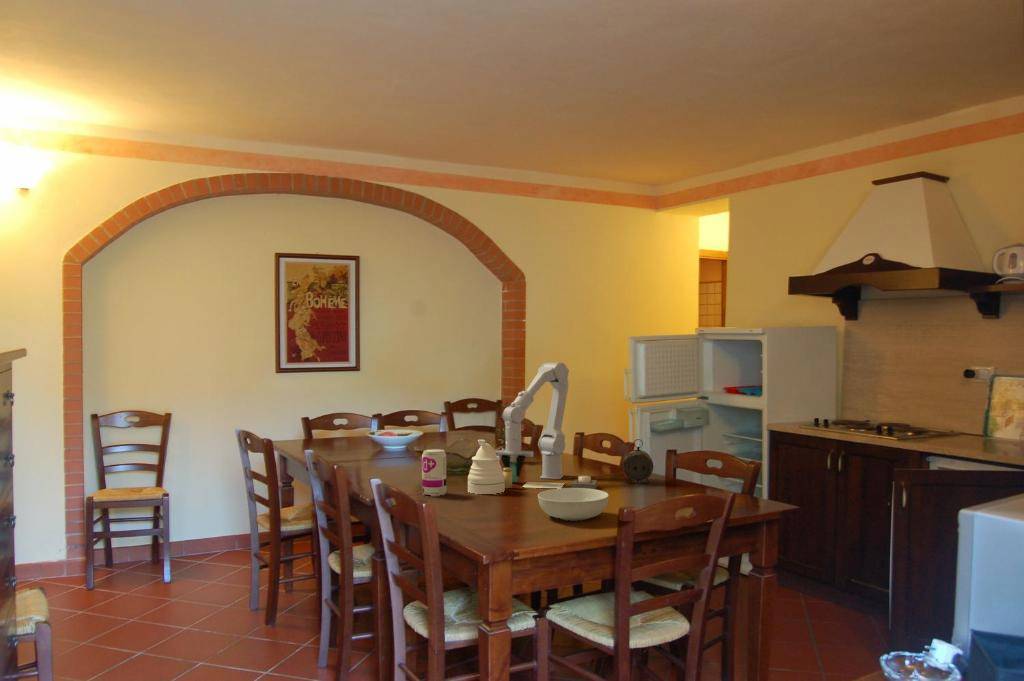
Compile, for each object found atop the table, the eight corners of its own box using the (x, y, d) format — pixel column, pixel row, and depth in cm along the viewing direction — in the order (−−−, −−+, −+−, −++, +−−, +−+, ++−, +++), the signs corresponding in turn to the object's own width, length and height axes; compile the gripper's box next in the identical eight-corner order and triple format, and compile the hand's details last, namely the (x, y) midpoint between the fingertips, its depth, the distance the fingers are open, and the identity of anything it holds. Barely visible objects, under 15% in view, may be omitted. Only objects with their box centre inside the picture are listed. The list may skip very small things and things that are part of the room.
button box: (574, 486, 269) (574, 479, 269) (597, 486, 267) (596, 480, 267) (571, 490, 261) (571, 483, 261) (594, 491, 259) (594, 484, 259)
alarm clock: (652, 482, 276) (652, 438, 276) (653, 484, 271) (653, 440, 271) (622, 481, 277) (622, 438, 277) (623, 484, 272) (623, 439, 272)
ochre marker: (504, 487, 268) (503, 467, 268) (513, 487, 267) (512, 467, 267) (501, 488, 265) (501, 468, 265) (511, 489, 264) (510, 469, 264)
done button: (579, 483, 267) (579, 475, 267) (591, 484, 266) (591, 475, 266) (577, 486, 263) (577, 477, 263) (589, 486, 262) (589, 478, 262)
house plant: (485, 464, 319) (485, 425, 319) (496, 459, 332) (496, 422, 333) (517, 465, 315) (517, 427, 315) (527, 460, 328) (527, 423, 328)
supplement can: (434, 497, 250) (434, 452, 250) (417, 494, 255) (417, 450, 255) (451, 493, 256) (451, 450, 256) (433, 491, 261) (433, 448, 261)
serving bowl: (564, 506, 236) (564, 484, 236) (622, 516, 222) (622, 493, 222) (523, 518, 219) (523, 495, 219) (582, 529, 206) (582, 504, 206)
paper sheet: (527, 482, 276) (527, 481, 276) (564, 484, 273) (564, 483, 273) (521, 487, 266) (521, 487, 266) (560, 489, 263) (560, 488, 263)
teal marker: (510, 480, 278) (510, 461, 278) (519, 480, 277) (518, 461, 277) (508, 481, 275) (508, 462, 275) (517, 482, 274) (516, 463, 274)
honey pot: (482, 496, 252) (482, 443, 252) (460, 490, 262) (460, 439, 262) (512, 491, 260) (512, 439, 260) (489, 486, 270) (489, 436, 270)
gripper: (491, 440, 274) (491, 477, 274) (530, 441, 271) (530, 478, 271) (496, 437, 281) (496, 473, 281) (534, 438, 277) (534, 475, 277)
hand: (513, 476), depth 276 cm, fingers closed on teal marker, 3 cm apart
